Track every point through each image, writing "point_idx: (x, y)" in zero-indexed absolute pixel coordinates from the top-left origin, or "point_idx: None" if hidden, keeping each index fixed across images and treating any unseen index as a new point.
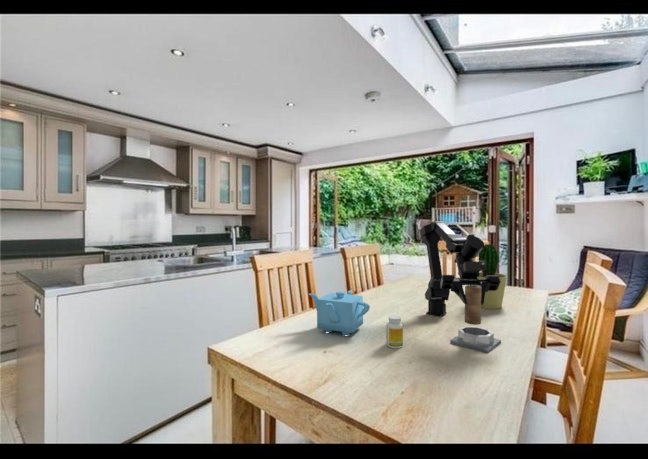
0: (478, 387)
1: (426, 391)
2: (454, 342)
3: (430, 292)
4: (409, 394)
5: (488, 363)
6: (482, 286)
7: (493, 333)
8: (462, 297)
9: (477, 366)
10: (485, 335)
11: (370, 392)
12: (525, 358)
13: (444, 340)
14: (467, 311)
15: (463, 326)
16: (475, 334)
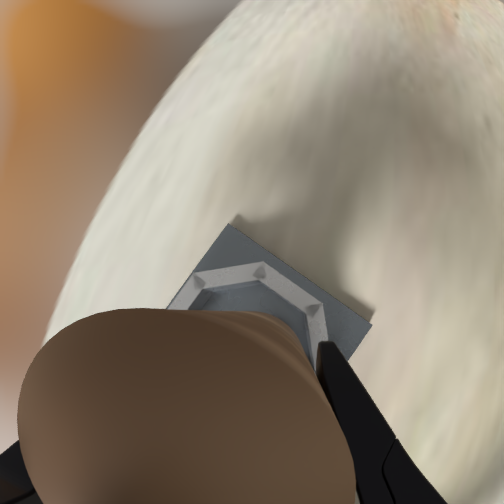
0: (320, 18)
1: (421, 12)
2: (354, 313)
3: None
4: (444, 10)
5: (257, 132)
6: (8, 492)
7: None
8: (366, 400)
9: (301, 106)
10: (207, 285)
11: (496, 25)
12: (112, 203)
13: (387, 355)
14: (298, 341)
15: None
16: None
